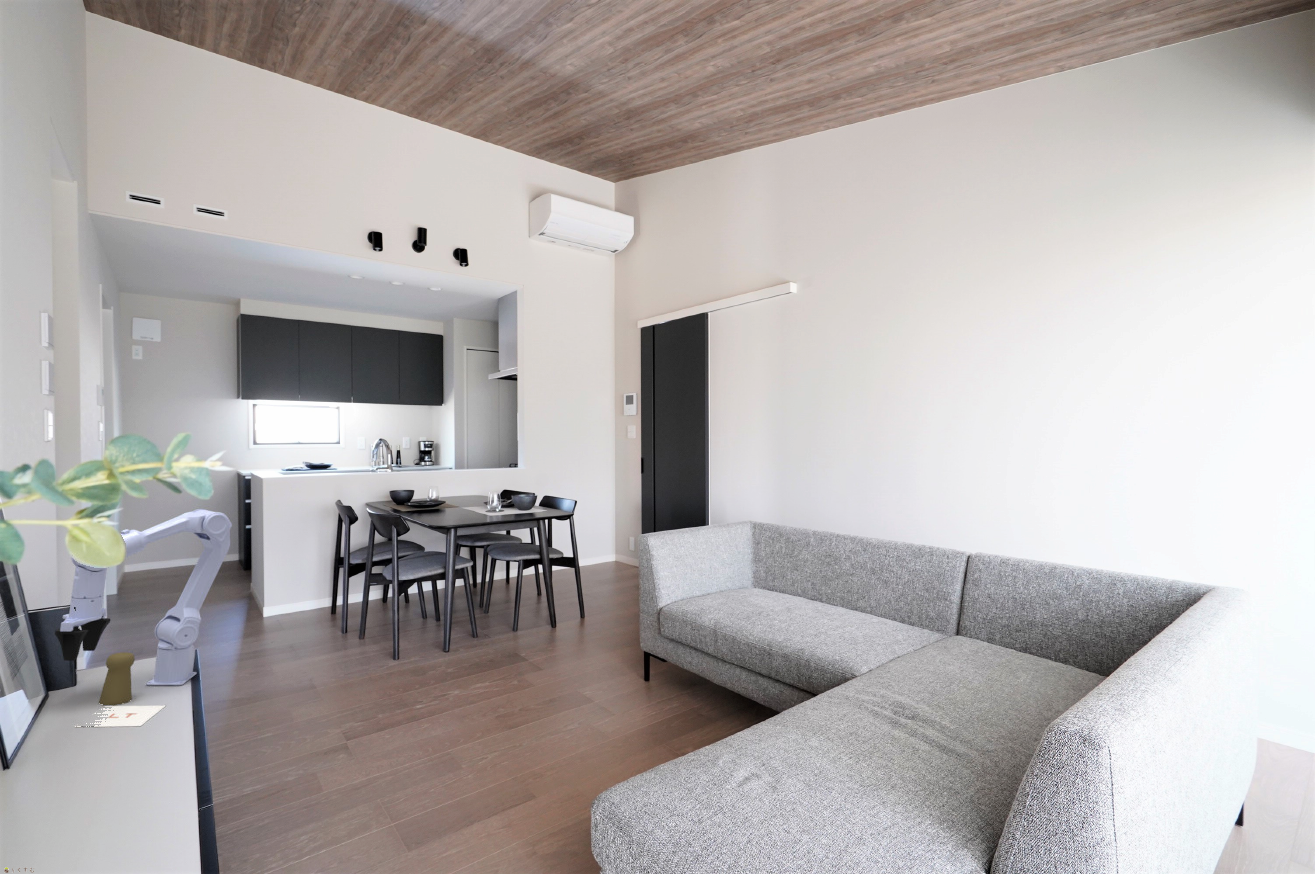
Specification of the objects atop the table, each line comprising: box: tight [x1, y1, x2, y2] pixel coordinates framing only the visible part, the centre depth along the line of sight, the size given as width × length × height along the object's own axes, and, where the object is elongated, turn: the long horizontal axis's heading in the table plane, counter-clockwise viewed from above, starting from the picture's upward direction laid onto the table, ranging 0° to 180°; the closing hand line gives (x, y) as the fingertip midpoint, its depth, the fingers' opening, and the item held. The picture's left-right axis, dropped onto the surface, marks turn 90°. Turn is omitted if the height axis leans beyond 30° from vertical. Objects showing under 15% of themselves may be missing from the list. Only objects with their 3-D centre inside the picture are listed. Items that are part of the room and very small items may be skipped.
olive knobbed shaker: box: [98, 651, 136, 706], centre depth 154 cm, size 6×6×11 cm
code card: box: [74, 705, 166, 728], centre depth 146 cm, size 12×12×1 cm
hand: (79, 655), depth 153 cm, fingers open, 7 cm apart
